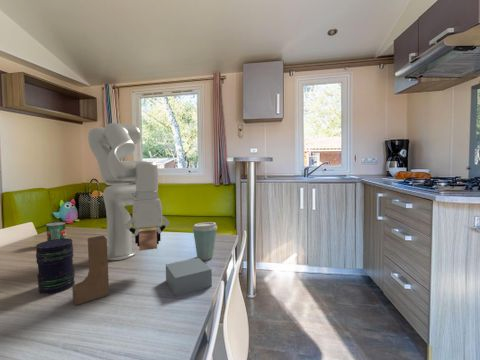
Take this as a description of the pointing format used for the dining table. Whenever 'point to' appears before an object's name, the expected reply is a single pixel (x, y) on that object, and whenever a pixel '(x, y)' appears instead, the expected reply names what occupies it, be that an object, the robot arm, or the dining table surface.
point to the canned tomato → (56, 231)
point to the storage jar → (55, 266)
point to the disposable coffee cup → (205, 239)
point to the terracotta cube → (147, 239)
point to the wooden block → (94, 273)
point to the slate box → (188, 276)
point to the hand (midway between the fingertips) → (148, 243)
